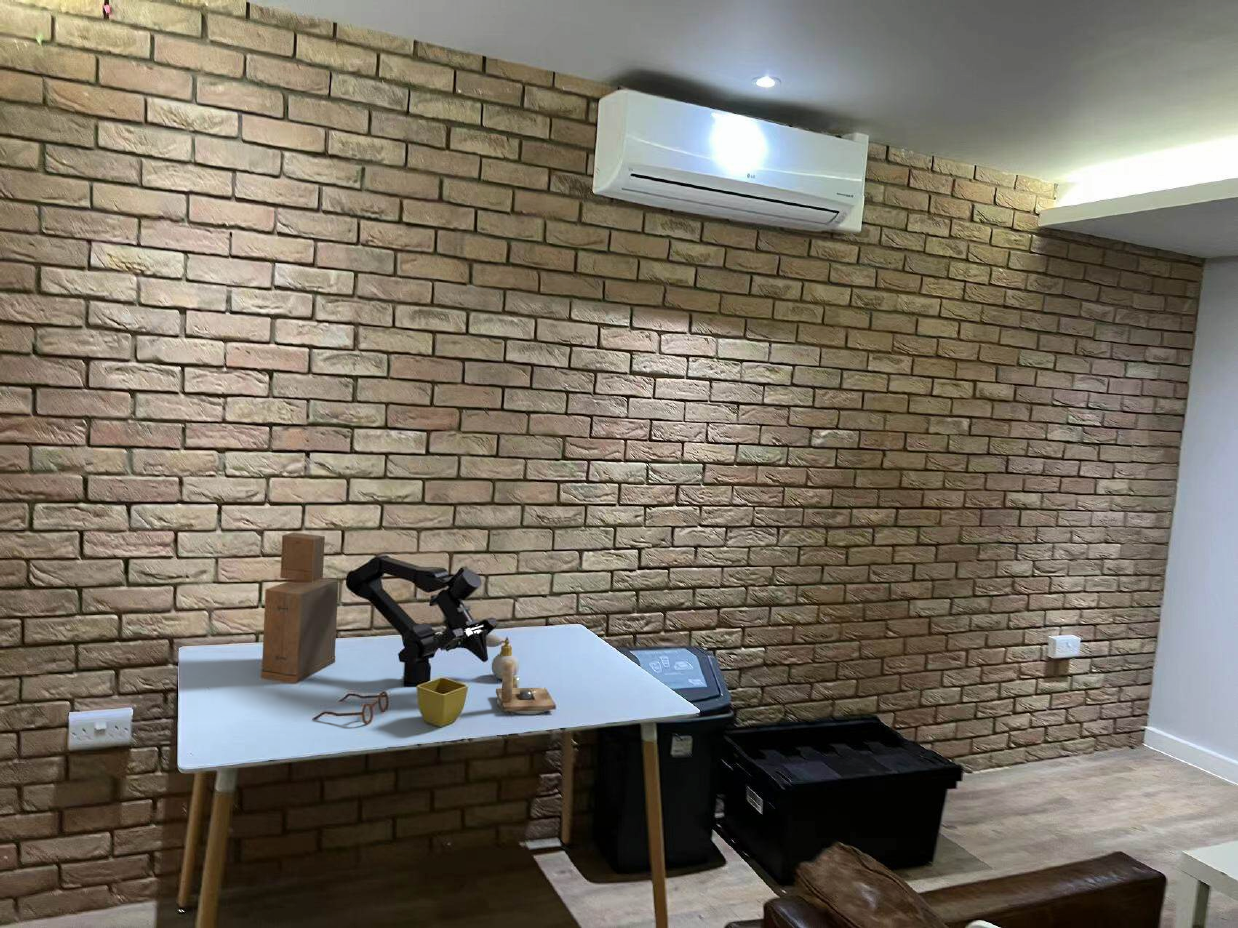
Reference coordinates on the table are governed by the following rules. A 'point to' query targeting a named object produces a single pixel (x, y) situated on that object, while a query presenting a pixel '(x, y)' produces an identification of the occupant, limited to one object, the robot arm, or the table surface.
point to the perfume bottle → (501, 655)
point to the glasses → (363, 707)
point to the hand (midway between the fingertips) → (486, 661)
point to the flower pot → (441, 700)
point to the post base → (523, 696)
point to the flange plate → (511, 695)
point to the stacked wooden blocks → (300, 613)
